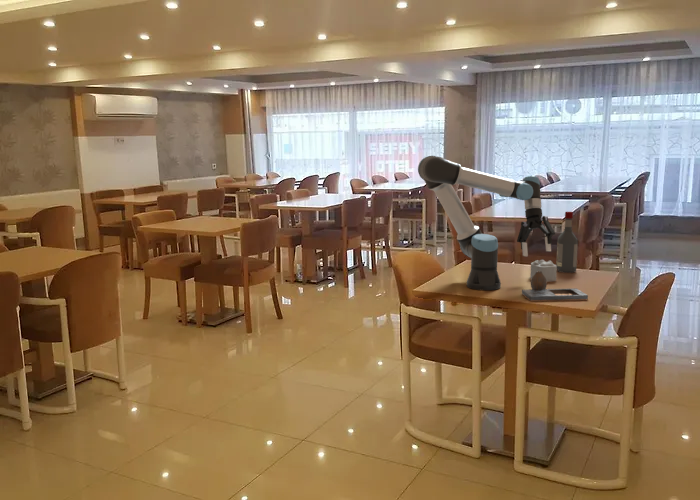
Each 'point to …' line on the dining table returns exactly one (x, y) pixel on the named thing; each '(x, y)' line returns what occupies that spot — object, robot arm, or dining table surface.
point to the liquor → (567, 247)
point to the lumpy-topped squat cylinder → (544, 269)
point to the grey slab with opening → (554, 294)
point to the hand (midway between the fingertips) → (536, 253)
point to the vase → (538, 281)
